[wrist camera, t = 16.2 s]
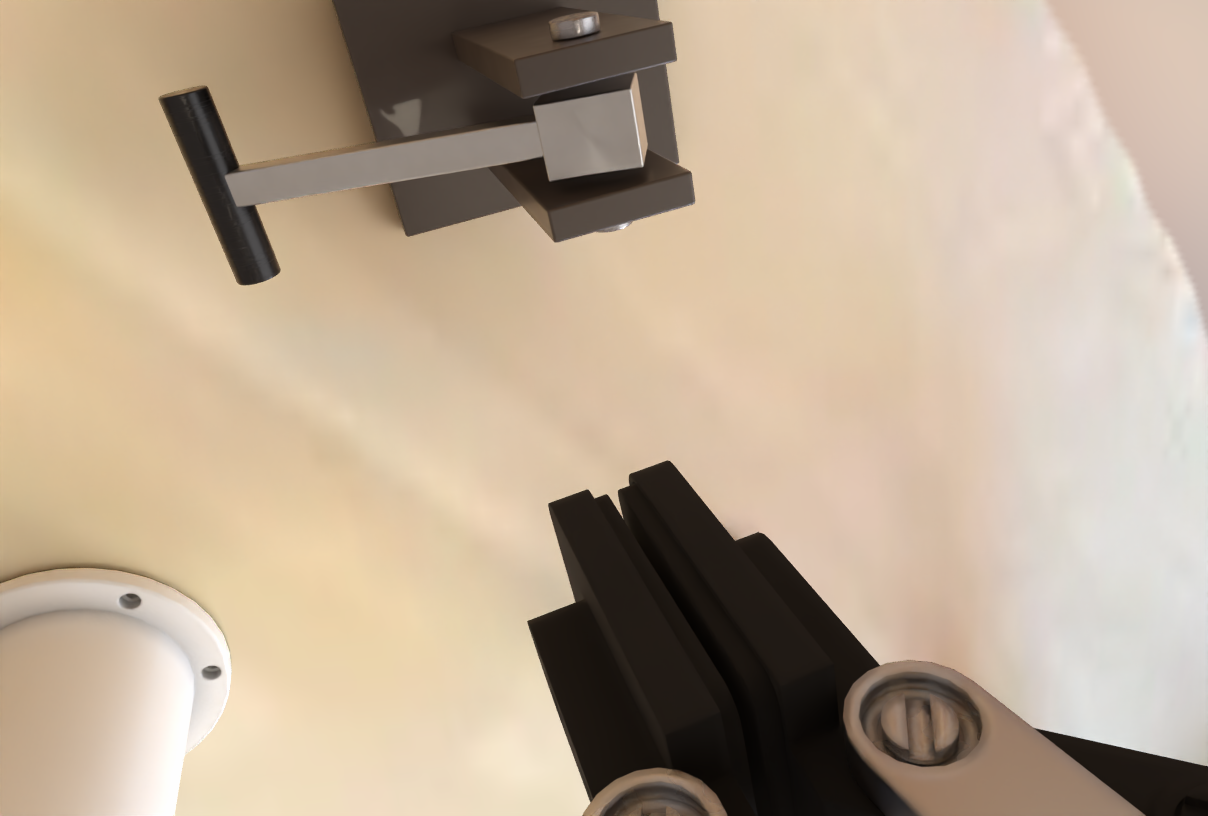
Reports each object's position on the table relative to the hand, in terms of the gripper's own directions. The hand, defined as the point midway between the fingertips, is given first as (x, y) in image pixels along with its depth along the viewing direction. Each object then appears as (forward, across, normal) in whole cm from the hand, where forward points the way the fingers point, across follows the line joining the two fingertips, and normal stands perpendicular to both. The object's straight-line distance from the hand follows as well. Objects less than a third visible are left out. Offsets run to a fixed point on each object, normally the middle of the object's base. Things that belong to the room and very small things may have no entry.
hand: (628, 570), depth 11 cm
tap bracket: (+27, -5, -3) cm, 28 cm away
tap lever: (+20, -1, -2) cm, 20 cm away
